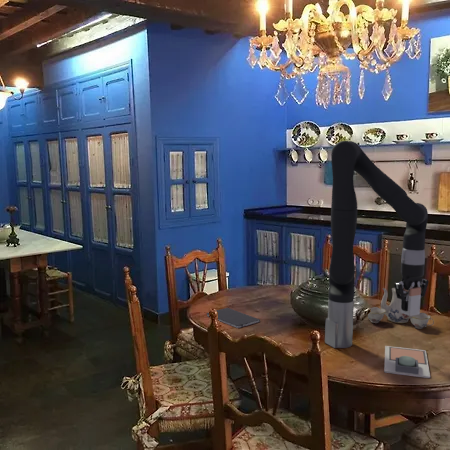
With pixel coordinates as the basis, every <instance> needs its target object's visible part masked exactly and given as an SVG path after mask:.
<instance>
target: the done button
mask: <svg viewBox="0 0 450 450" xmlns="http://www.w3.org/2000/svg"><path fill="white" fill-rule="evenodd" d="M399 365H401V366H409V367H415V359H414V358H412V357H409V356H401V357H399Z"/></svg>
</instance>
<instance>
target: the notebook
mask: <svg viewBox="0 0 450 450" xmlns="http://www.w3.org/2000/svg"><path fill="white" fill-rule="evenodd" d="M215 311H217V312H218V320H219V322H221V323H224V324H226V325H228V326H231V327H234V328H236V329H240V328H243V327H246V326H250V325H253V324H256V323H260V322H261V319H259V318H257V317H254V316H251V315H249V314H246V313H243V312H241V311H237V310H235V309H232V308H229V307H225V308H221V309H217V310H215ZM206 316H207V317H208V318H210V317H209V312H206ZM218 320H217V321H218Z"/></svg>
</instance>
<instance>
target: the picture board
mask: <svg viewBox="0 0 450 450" xmlns="http://www.w3.org/2000/svg"><path fill="white" fill-rule="evenodd" d="M401 356H409V357H412V358H414V359H415V367H409V366H401V365H399V357H401ZM383 367H384V370H383V371H384V372H383V373H385V374H387V373H388V374H393V375H401V376H411V377H415V378H416V377H417V378H425V379H431V373H430V368H429V362H428V356H427V351H426V350H424V349H416V348H409V347H408V348H407V347H400V346H390V345H384V365H383Z"/></svg>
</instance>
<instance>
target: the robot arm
mask: <svg viewBox="0 0 450 450" xmlns="http://www.w3.org/2000/svg"><path fill="white" fill-rule="evenodd" d="M330 153H331V154H330V157H331V171H332V172H331V173H332V188H331V206H330V229H331V231H330V232H331V243H332V245H331V247H332V248H331V249H332V250H331V259H330V263H329V269H328V271H329V272H328V273H329V280H328V281H329V282H328V302H327V303H328V305H327V306H328V307H327V317H326V318H325V326H324V329H325V330H324V343H325V344H327V345H328V346H330V347H331V348H334V349H346V348H350V347H351V346H353V334H354V333H353V331H354V327H353V326H354V307H355V281H356V266H355V259H354V244H355V238H356V233H357V232H356V230H357V225H358V224H357V221H358V199H357V194H356V190H355V184H354V173H357V174H358V175H359V176H361V178H362V179H364V180H365V181H366V183H367V184H368V185H369V186H370V187H371V189H372V190H373V191H374V192H375V194H377V196H379V198H381V199H382V200H383V201H384V202H385V203H386V204H388V205H389V206H390V207H391V208H392V209H393V210H394V211H395V213H396V214H397V215H398V216H399V218H401V220H403V221H404V222H405V223H406V224H405V232H404V234H403V237H402V238H403V239H402V252H401V257H400V258H401V262H400V274H401V279H400V281H399V282H394V288H395V290H396V295H397V298H399V299H401V300H402V302H401V309H402V310H403V311H408V299H409V295H410V289H412V288H415V287H417V288H419V287H421V298H420V300H421V299H422V297H423V298H424V297H425V295H426V292H427V289H428V285H429V280H428V279H425V278H423V277H424V276H425V275H424V274H425V263H426V262H425V261H426V254H425V253H426V252H425V250H426V249H425V246H426V231H427V224H428V218H429V217H428V215H429V212H428V209H427V207H426V205H424V204H423V203H421V202H415V201H414V199H412V198H411V197H410V196H408V193H407V192H406V190H404V188H403V187H401V186H400V185H399V184H398V183H397V182H396V181H394V180H393V179H392V178H391V177H390V176H388V175H387V174H386V173H385V172H384V171H383V170H381V169H380V168H379V167H378V166H377V164H375V163H374V162H373V160H371V158H369V156H368V155H367V154H366V152H364V151H363V149H362V148H361V146H359V144H357V142H354V141H352V140H351V141H350V140H341V141H340V140H339V142H337V143H335V145H334V146H333V148H332V150H331V152H330ZM404 289H405V290H408V292H406V291H404ZM405 294H406V297H404V296H405Z"/></svg>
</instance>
